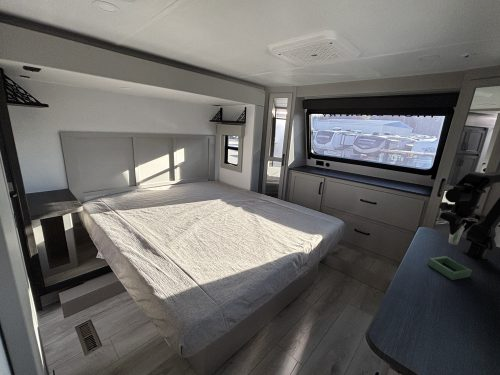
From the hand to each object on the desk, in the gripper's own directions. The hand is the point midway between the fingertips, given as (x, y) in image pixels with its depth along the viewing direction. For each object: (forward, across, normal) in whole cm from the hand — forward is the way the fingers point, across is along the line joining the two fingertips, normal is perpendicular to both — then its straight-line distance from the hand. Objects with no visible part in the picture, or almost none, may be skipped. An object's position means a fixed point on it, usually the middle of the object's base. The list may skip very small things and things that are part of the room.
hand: (455, 234), depth 98 cm
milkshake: (+5, -1, 0) cm, 5 cm away
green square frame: (+13, +9, +7) cm, 17 cm away
